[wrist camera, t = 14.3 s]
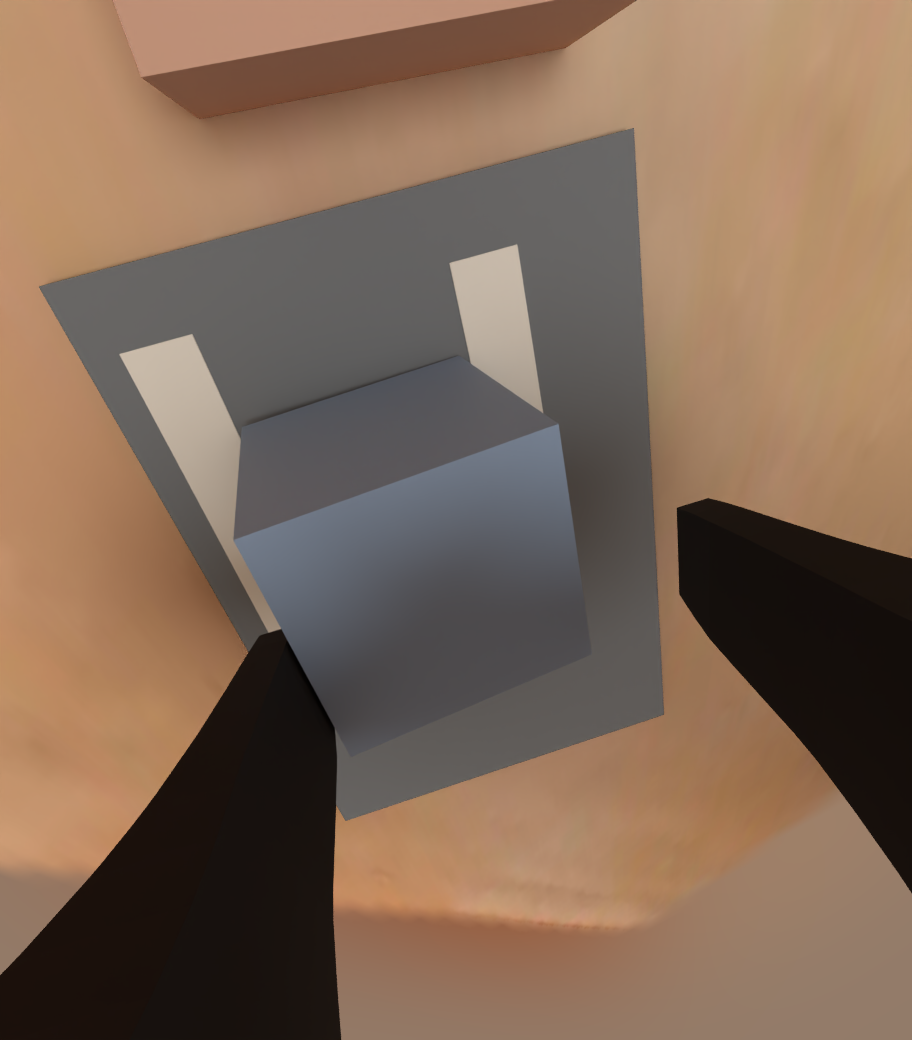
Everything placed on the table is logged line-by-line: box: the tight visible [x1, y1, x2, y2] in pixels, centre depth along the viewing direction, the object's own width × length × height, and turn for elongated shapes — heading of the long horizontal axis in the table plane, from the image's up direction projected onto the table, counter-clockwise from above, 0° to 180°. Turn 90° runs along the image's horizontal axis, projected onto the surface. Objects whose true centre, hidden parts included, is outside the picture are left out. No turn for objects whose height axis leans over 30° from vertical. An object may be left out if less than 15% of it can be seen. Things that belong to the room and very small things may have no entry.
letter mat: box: [39, 128, 664, 821], centre depth 16 cm, size 18×12×1 cm, turn 13°
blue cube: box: [233, 356, 592, 757], centre depth 12 cm, size 5×5×5 cm
